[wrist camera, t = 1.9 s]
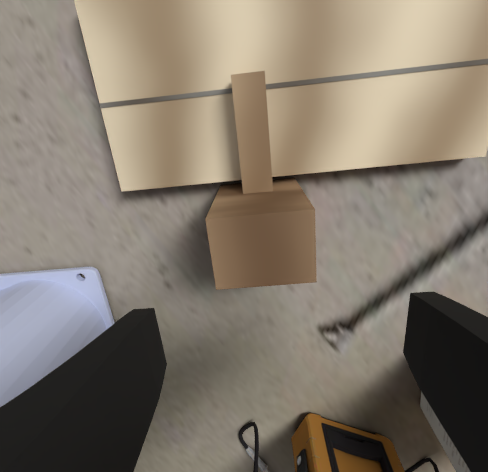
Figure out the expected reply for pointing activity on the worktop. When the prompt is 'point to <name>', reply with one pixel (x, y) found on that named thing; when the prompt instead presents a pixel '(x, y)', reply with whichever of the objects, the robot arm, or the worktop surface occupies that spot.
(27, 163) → the worktop surface
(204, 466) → the worktop surface
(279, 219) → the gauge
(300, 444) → the multimeter
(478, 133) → the board
